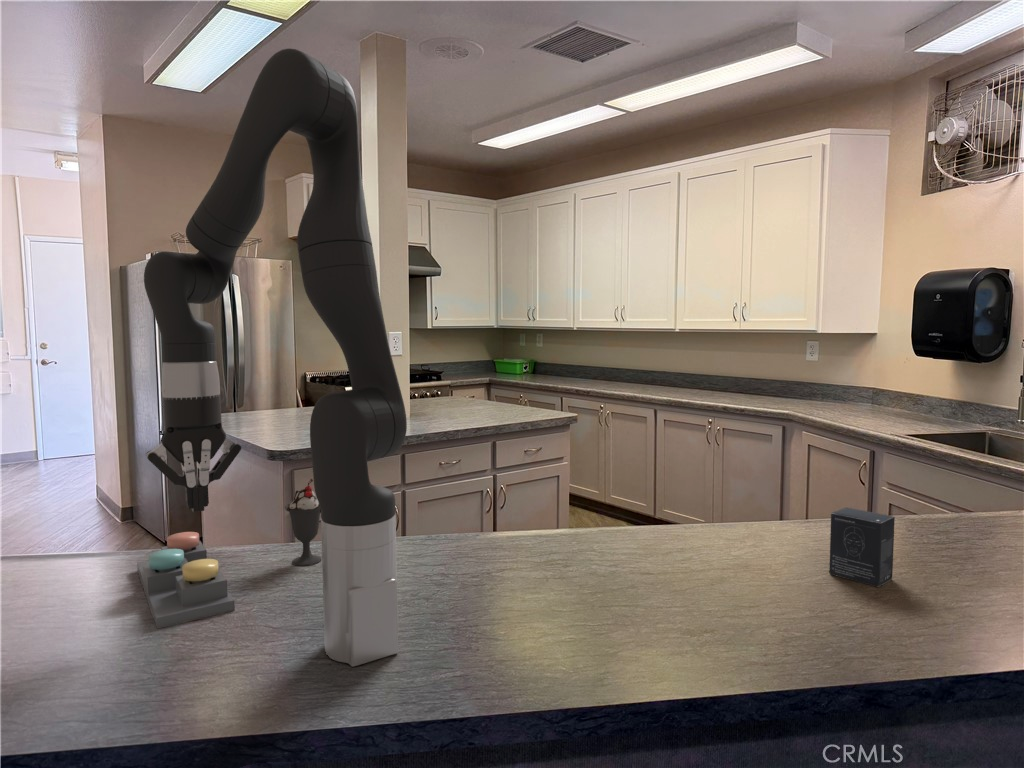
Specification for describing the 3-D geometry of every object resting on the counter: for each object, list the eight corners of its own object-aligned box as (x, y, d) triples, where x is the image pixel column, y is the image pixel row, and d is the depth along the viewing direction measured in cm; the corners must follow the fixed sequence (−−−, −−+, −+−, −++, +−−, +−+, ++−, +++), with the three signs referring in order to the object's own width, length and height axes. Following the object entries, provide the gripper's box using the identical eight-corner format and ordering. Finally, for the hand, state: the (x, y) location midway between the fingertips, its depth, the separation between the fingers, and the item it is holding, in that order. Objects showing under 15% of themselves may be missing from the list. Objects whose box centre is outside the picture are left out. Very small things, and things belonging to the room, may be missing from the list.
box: (892, 579, 106) (895, 516, 105) (878, 588, 102) (881, 522, 101) (843, 566, 112) (845, 505, 111) (827, 574, 108) (830, 511, 107)
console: (234, 610, 95) (233, 583, 95) (157, 628, 89) (155, 600, 89) (201, 558, 116) (200, 536, 116) (137, 570, 111) (136, 547, 110)
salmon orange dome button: (202, 561, 109) (201, 537, 109) (170, 567, 107) (169, 542, 106) (197, 553, 113) (196, 530, 113) (166, 558, 111) (165, 535, 110)
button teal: (187, 580, 101) (186, 555, 100) (152, 588, 98) (150, 561, 98) (182, 571, 105) (181, 546, 104) (148, 578, 102) (146, 552, 102)
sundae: (320, 568, 112) (317, 482, 110) (281, 567, 112) (278, 481, 110) (331, 554, 118) (329, 473, 117) (294, 554, 118) (292, 473, 117)
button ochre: (222, 592, 96) (221, 565, 96) (186, 600, 94) (185, 573, 93) (215, 582, 100) (214, 556, 100) (181, 589, 98) (179, 563, 97)
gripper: (142, 398, 87) (149, 524, 89) (245, 391, 95) (251, 508, 96) (136, 394, 94) (143, 512, 95) (234, 388, 101) (239, 498, 103)
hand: (198, 510), depth 96 cm, fingers closed
